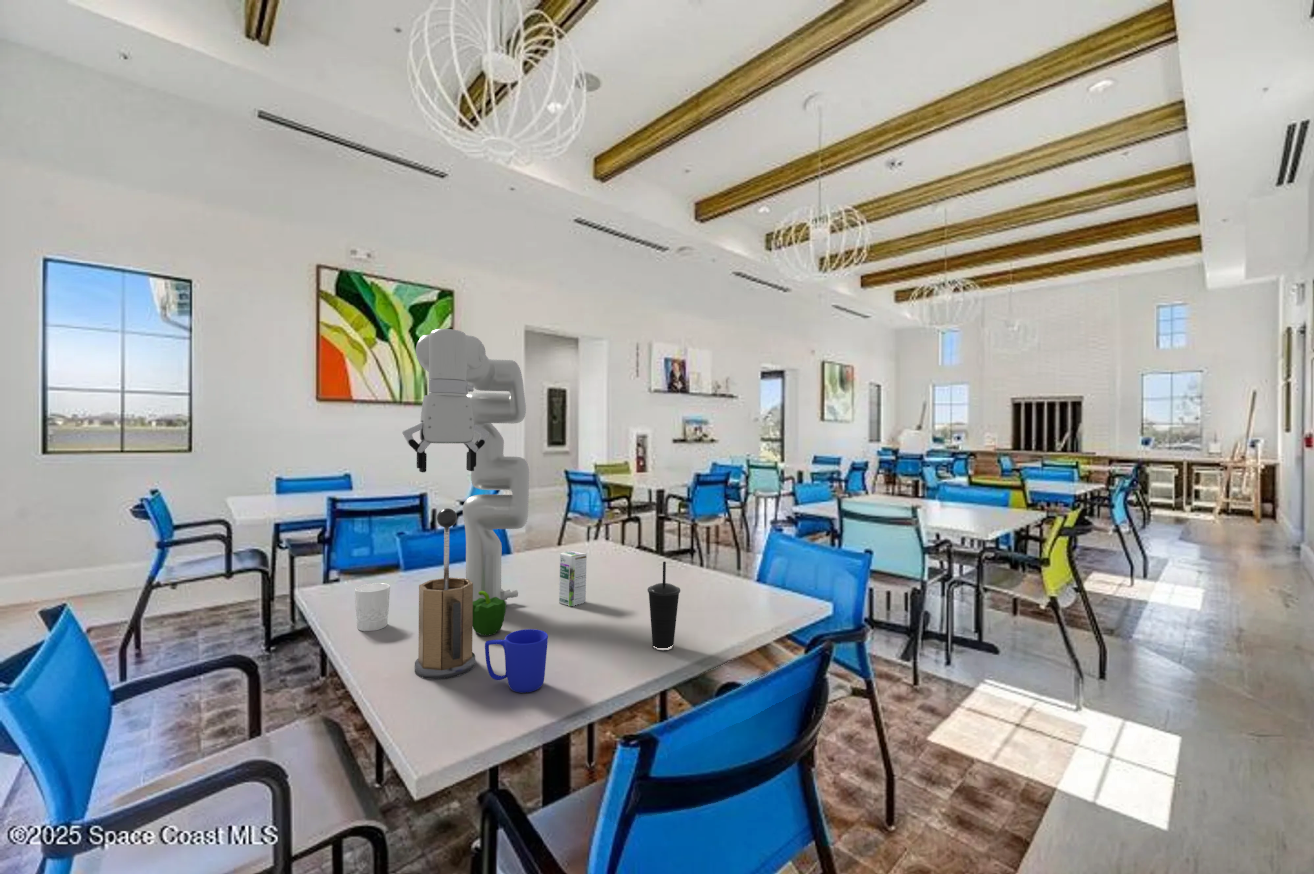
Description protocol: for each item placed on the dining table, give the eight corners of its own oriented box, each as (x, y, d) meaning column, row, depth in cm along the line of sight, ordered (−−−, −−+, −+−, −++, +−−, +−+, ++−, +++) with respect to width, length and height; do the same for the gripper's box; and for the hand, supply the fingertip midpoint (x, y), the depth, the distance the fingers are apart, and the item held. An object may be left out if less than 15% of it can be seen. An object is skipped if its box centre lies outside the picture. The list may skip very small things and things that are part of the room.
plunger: (459, 589, 125) (460, 505, 125) (469, 598, 119) (470, 509, 119) (422, 594, 121) (423, 507, 121) (431, 604, 115) (432, 512, 114)
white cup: (375, 633, 139) (375, 592, 138) (347, 630, 140) (347, 590, 140) (396, 622, 146) (396, 584, 146) (369, 620, 148) (369, 581, 148)
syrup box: (558, 603, 165) (558, 553, 164) (573, 598, 169) (574, 549, 169) (571, 607, 161) (571, 556, 161) (586, 602, 165) (587, 552, 165)
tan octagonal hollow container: (465, 651, 129) (466, 573, 128) (486, 673, 117) (487, 589, 117) (409, 662, 122) (409, 581, 122) (424, 688, 110) (425, 598, 110)
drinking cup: (655, 655, 128) (657, 567, 127) (641, 644, 135) (642, 559, 134) (685, 650, 131) (686, 563, 131) (669, 638, 138) (670, 556, 138)
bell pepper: (511, 632, 141) (512, 592, 140) (480, 641, 135) (481, 599, 135) (494, 623, 147) (494, 585, 146) (464, 631, 141) (464, 591, 141)
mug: (489, 678, 115) (489, 629, 115) (549, 677, 116) (550, 628, 116) (479, 697, 107) (480, 644, 107) (545, 696, 108) (545, 643, 108)
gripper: (483, 392, 127) (482, 469, 127) (399, 388, 117) (398, 471, 118) (494, 390, 121) (493, 471, 121) (407, 386, 111) (406, 473, 111)
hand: (447, 471), depth 119 cm, fingers open, 9 cm apart
